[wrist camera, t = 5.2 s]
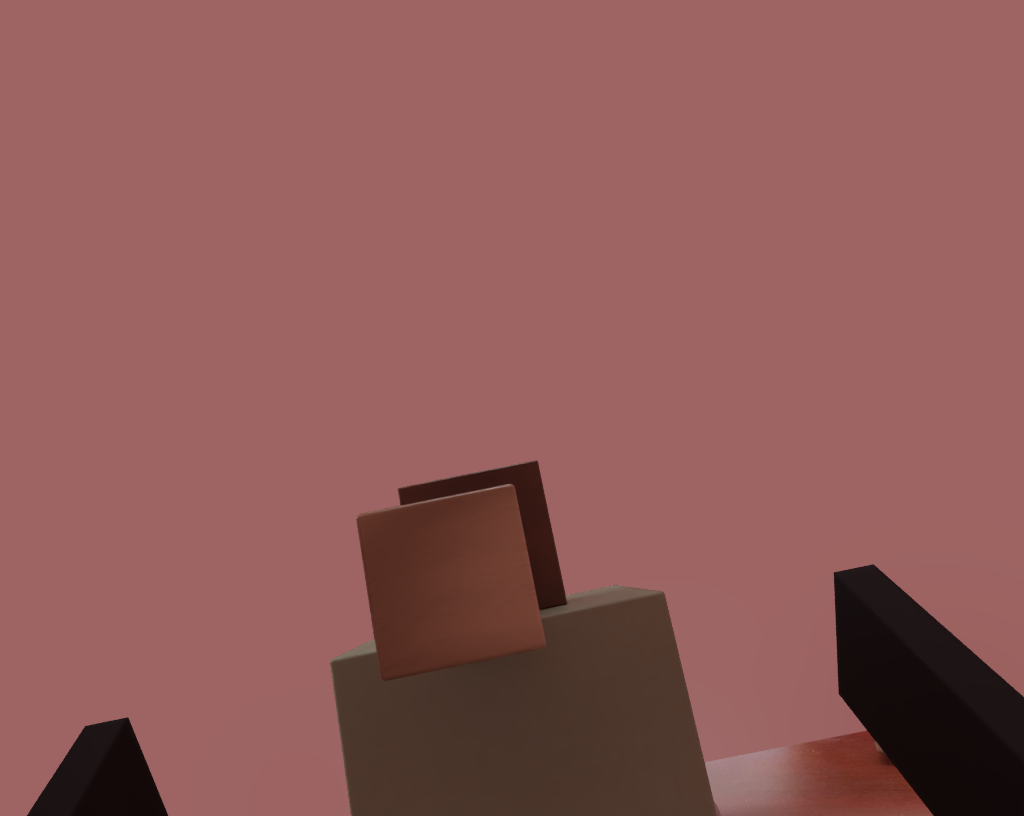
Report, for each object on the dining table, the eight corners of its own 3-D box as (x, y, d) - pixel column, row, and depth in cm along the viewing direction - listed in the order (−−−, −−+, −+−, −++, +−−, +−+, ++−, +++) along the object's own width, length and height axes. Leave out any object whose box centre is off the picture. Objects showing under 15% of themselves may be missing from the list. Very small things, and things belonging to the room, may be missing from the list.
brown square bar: (324, 694, 13) (286, 420, 14) (432, 627, 28) (410, 496, 29) (602, 637, 13) (544, 369, 14) (563, 600, 28) (536, 470, 29)
